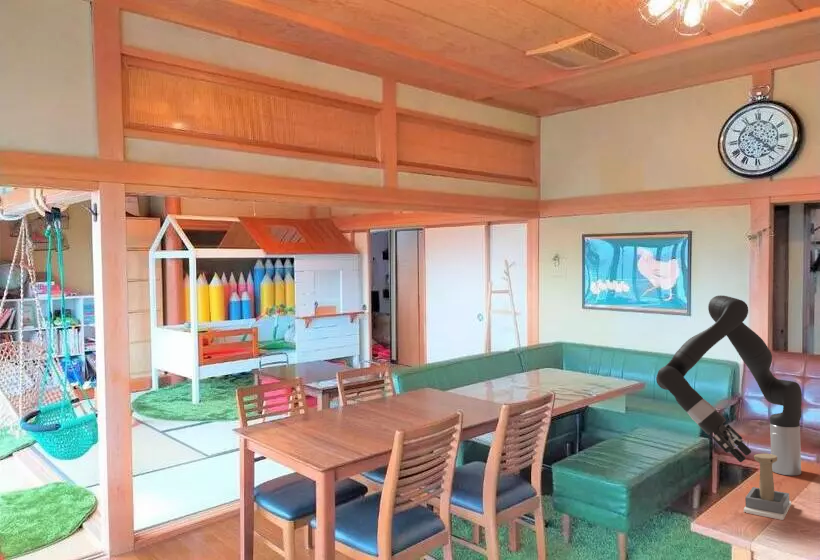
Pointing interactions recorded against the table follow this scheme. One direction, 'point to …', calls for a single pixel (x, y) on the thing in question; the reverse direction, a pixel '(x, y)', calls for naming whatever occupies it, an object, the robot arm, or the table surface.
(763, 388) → the robot arm
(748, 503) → the holder
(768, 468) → the handle
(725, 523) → the table surface
